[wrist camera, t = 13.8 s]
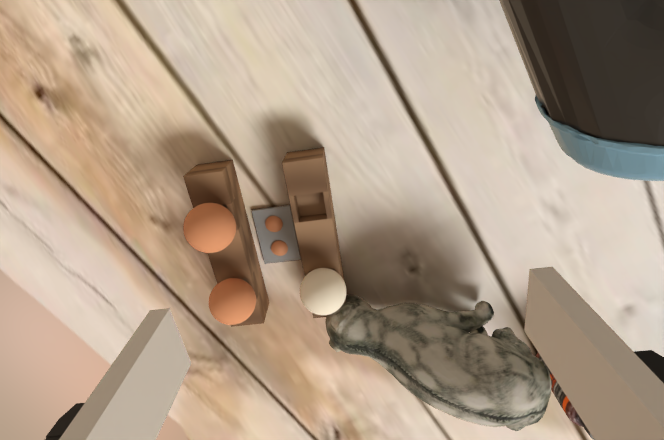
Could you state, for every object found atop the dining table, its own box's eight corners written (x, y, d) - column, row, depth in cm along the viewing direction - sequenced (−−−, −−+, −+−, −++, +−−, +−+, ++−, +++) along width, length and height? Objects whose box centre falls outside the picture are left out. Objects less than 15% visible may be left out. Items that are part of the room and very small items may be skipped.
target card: (252, 209, 44) (251, 211, 43) (290, 204, 43) (289, 206, 43) (265, 261, 47) (264, 264, 46) (300, 257, 46) (300, 260, 46)
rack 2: (287, 152, 41) (281, 163, 37) (323, 147, 41) (322, 157, 37) (315, 297, 49) (313, 318, 45) (346, 294, 48) (347, 314, 45)
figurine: (474, 248, 49) (323, 267, 43) (584, 386, 35) (382, 440, 30) (452, 297, 55) (316, 319, 49) (538, 431, 41) (363, 482, 36)
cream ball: (298, 262, 42) (293, 288, 38) (342, 256, 42) (343, 282, 38) (306, 298, 45) (302, 327, 40) (348, 294, 44) (349, 322, 40)
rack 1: (196, 164, 42) (183, 176, 38) (232, 160, 41) (222, 171, 38) (238, 305, 49) (231, 326, 46) (269, 302, 49) (263, 323, 46)
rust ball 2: (211, 272, 43) (196, 298, 39) (254, 267, 43) (244, 293, 38) (222, 307, 45) (209, 337, 41) (264, 303, 45) (255, 332, 40)
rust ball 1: (188, 198, 40) (167, 218, 35) (234, 192, 39) (220, 211, 35) (201, 241, 42) (184, 265, 37) (246, 235, 41) (234, 259, 37)
